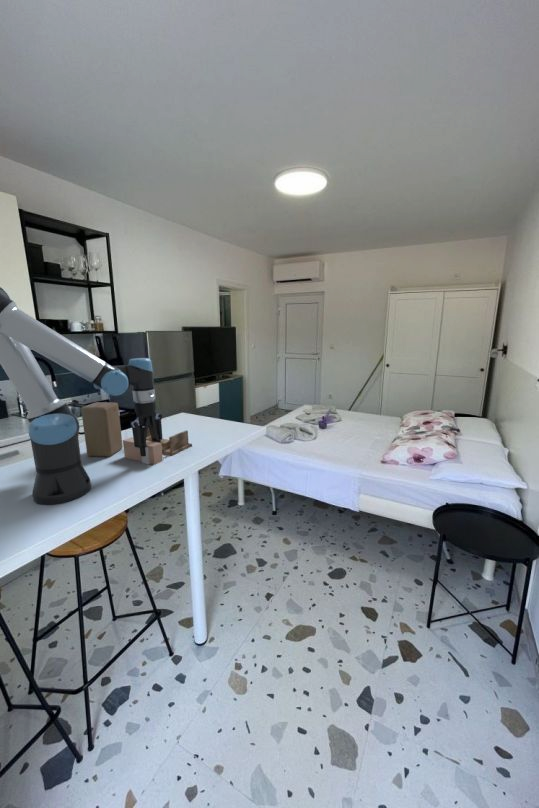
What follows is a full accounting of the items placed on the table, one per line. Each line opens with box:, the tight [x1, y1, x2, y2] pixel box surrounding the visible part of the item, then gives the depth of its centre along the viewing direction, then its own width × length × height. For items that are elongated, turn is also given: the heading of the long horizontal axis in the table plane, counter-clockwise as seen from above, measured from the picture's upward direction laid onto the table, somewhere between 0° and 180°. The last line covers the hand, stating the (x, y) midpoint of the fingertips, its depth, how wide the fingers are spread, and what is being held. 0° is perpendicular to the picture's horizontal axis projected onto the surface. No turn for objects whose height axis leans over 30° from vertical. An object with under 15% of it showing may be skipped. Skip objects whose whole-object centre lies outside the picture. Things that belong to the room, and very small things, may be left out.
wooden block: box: [80, 401, 124, 458], centre depth 132 cm, size 10×10×20 cm
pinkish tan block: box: [122, 436, 164, 465], centre depth 127 cm, size 4×16×7 cm, turn 63°
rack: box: [146, 428, 193, 456], centre depth 140 cm, size 12×22×7 cm, turn 64°
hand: (151, 461), depth 126 cm, fingers closed on pinkish tan block, 4 cm apart
